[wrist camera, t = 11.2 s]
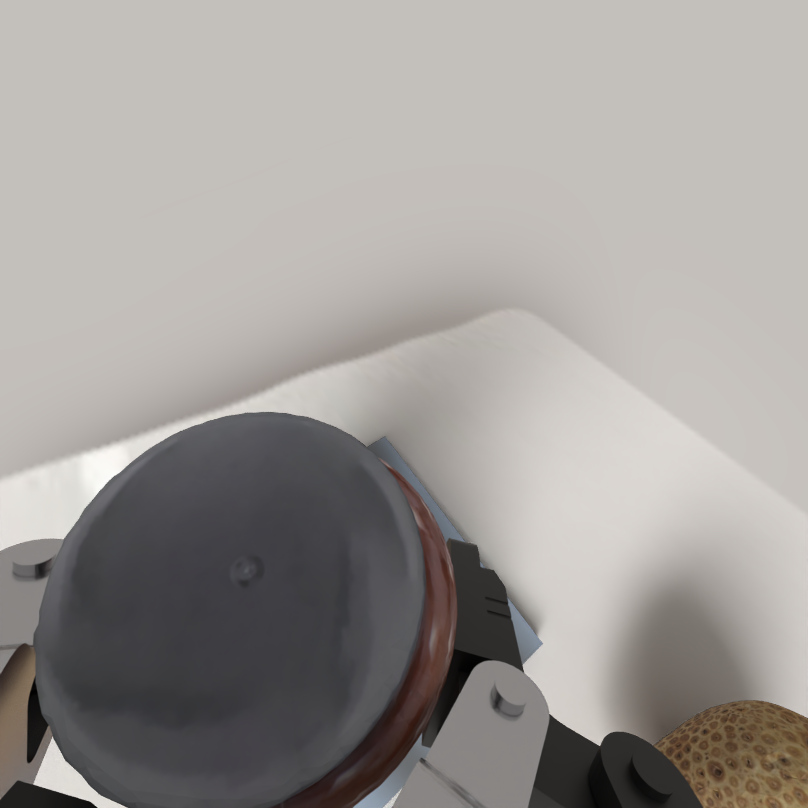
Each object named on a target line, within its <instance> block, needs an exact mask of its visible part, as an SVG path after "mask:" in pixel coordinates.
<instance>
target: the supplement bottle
mask: <svg viewBox="0 0 808 808" xmlns="http://www.w3.org/2000/svg"><path fill="white" fill-rule="evenodd" d="M456 625H457V595H456V583H455V578H454V570H453V565H452V561H451V557H450V553H449V550H448V548H447V545H446V542H445V539H444V537H443V534H442V532H441V530H440V528H439V526H438V524H437V522H436V519H435V517H434V516H433V514H432V513H431V511H430V509H429V507H428V506H427V505H426V503H425V502H424V500H423V498H422V497H421V496H420V494H419V493H418V492H417V491H416V490H415V489H414V488H413V486H412V485H411V484H410V483H409V482H408V481H407V480H406V479H405V478H404V477H403V476H402V475H401V474H400V473H399V472H398V471H396V470H395V469H394V468H393V467H391V466H390V465H389V464H388V463H387V462H385V461H383V460H382V459H380V458H378V457H377V456H376V455H375V453H373V452H372V451H370V450H369V449H368V448H367V447H366V446H365V445H364V444H362V443H361V442H360V441H358V440H357V439H356V438H354V437H353V436H352V435H350V434H348V433H346V432H344V431H342V430H340V429H338V428H337V427H334V426H331V425H329V424H326V423H323V422H320V421H318V420H315V419H312V418H309V417H304V416H296V415H292V414H287V413H275V412H259V413H244V414H239V415H231V416H225V417H222V418H218V419H214V420H210V421H207V422H205V423H203V424H200V425H195V426H193V427H190V428H188V429H185V430H183V431H180V432H178V433H176V434H174V435H172V436H170V437H168V438H167V439H165V440H163V441H162V442H160V443H158V444H156V445H155V446H153V447H152V448H150V449H149V450H147V451H146V452H144V453H143V454H142V455H140V456H139V457H138V458H136V459H135V460H134V461H133V462H131V463H130V464H129V465H128V466H127V467H126V468H125V469H124V470H122V471H121V472H120V473H119V474H117V475H116V476H114V477H113V478H112V479H111V480H110V481H109V482H108V483H107V484H106V485H105V486H104V487H103V488H102V489H101V490H100V491H99V493H98V494H97V495H96V496H95V498H94V499H93V500H92V501H91V503H90V504H89V505H88V506H87V507H86V508H85V509H84V511H83V513H82V514H81V516H80V518H79V520H78V521H77V522H76V524H75V525H74V526H73V528H72V529H71V530H70V532H69V533H68V534H67V536H66V537H65V538H64V541H63V543H62V546H61V548H60V550H59V552H58V554H57V556H56V559H55V562H54V565H53V567H52V569H51V572H50V574H49V578H48V581H47V585H46V588H45V592H44V595H43V599H42V603H41V606H40V610H39V622H38V626H37V628H36V630H35V632H34V635H33V646H34V650H35V654H36V657H35V675H36V687H37V692H38V697H39V702H40V708H41V713H42V716H43V717H44V719H45V720H46V722H47V723H48V725H49V726H50V729H51V732H52V735H53V738H54V740H55V742H56V744H57V746H58V747H59V749H60V751H61V753H62V755H63V757H64V759H65V761H67V762H68V763H69V764H70V765H71V766H72V767H73V768H74V769H75V770H76V771H78V772H79V773H80V774H81V775H82V776H83V778H84V779H85V780H86V781H87V783H88V784H89V785H90V786H91V787H92V788H93V789H94V790H95V791H96V792H98V793H99V794H100V795H101V796H103V797H106V798H108V799H110V800H112V801H114V802H117V803H119V804H121V805H123V806H125V807H128V808H353V807H354V806H355V805H357V804H358V803H359V802H360V801H361V800H363V799H364V798H365V797H366V796H368V795H369V794H370V793H372V792H373V791H374V790H375V789H377V788H378V787H379V786H380V785H382V783H383V782H384V781H385V780H386V779H387V778H388V777H389V776H390V774H391V773H392V772H393V771H394V770H395V769H396V768H397V767H398V766H399V764H400V763H401V762H402V761H403V759H404V758H405V757H406V756H407V754H408V753H409V751H410V750H411V748H412V747H413V746H414V744H415V743H416V741H417V740H418V738H419V737H420V735H421V733H422V732H423V730H424V728H425V727H426V725H427V723H428V722H429V720H430V718H431V716H432V714H433V712H434V709H435V707H436V705H437V702H438V700H439V697H440V694H441V692H442V689H443V687H444V684H445V682H446V678H447V674H448V670H449V667H450V663H451V660H452V656H453V650H454V643H455V635H456Z"/></svg>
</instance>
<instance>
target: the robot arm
mask: <svg viewBox="0 0 808 808" xmlns="http://www.w3.org/2000/svg"><path fill="white" fill-rule="evenodd" d="M63 541H64V540H63V539H40V540H33V541H28V542H24V543H20V544H17V545H14V546H11V547H8V548H6V549H4V550H2V551H0V808H97V807H96V806H95V805H94V804H92V803H91V802H89V801H86V800H82V799H79V798H76V797H72V796H69V795H66V794H62V793H59V792H56V791H52V790H49V789H46V788H42V787H39V786H36V785H33V783H34V780H35V778H36V775H37V773H38V770H39V768H40V765H41V763H42V760H43V758H44V756H45V753H46V751H47V748H48V746H49V743H50V741H51V739H52V736H53V735H52V732H51V729H50V726H49V725H48V723H47V722H46V720H45V719H44V717H43V716H42V713H41V708H40V702H39V697H38V692H37V687H36V675H35V657H36V654H35V650H34V646H33V635H34V632H35V630H36V628H37V626H38V622H39V610H40V606H41V603H42V599H43V595H44V592H45V588H46V585H47V581H48V578H49V574H50V572H51V569H52V567H53V565H54V562H55V559H56V556H57V554H58V552H59V550H60V548H61V546H62V543H63ZM446 545H447V548H448V550H449V553H450V557H451V561H452V565H453V570H454V578H455V583H456V595H457V625H456V635H455V643H454V650H453V656H452V660H451V663H450V667H449V670H448V674H447V678H446V682H445V684H444V687H443V689H442V692H441V694H440V697H439V700H438V702H437V705H436V707H435V709H434V712H433V714H432V716H431V718H430V720H429V722H428V723H427V725H426V727H425V728H424V730H423V732H422V746H425V747H428V748H431V749H430V750H429V752H428V754H427V756H426V757H425V759H423V758H420V760H419V761H418V762H417V764H416V765H415V767H414V769H413V770H412V772H411V774H410V776H409V778H408V779H407V781H406V783H405V785H404V787H403V788H402V790H401V792H400V794H399V796H398V797H397V799H396V801H395V803H394V805H393V807H392V808H704V807H703V806H702V804H701V803H700V801H699V799H698V798H697V796H696V795H695V793H694V791H693V790H692V788H691V786H690V785H689V783H688V782H687V780H686V779H685V778H684V776H683V775H682V774H681V772H680V771H679V770H678V769H677V767H676V766H675V765H674V764H673V763H672V762H671V761H670V760H669V759H668V758H667V757H666V756H665V755H664V754H663V753H662V752H660V751H659V750H658V749H657V748H655V747H654V746H653V745H651V744H650V743H648V742H647V741H645V740H643V739H641V738H639V737H637V736H635V735H632V734H630V733H625V732H613V733H610V734H608V735H607V736H606V737H605V738H604V739H603V741H602V743H601V745H600V746H598V745H597V744H595V743H593V742H592V741H590V740H588V739H586V738H585V737H583V736H581V735H580V734H578V733H576V732H575V731H573V730H571V729H570V728H568V727H566V726H565V725H563V724H562V723H560V722H559V721H557V720H556V719H555V718H554V717H552V716H551V715H550V714H549V710H548V706H547V703H546V700H545V698H544V696H543V694H542V693H541V691H540V690H539V688H538V687H537V685H536V684H535V683H534V682H533V681H532V680H531V679H530V678H529V677H528V676H527V675H526V674H524V670H523V666H522V661H521V657H520V652H519V648H518V643H517V639H516V634H515V630H514V625H513V621H512V620H511V617H512V616H511V612H510V607H509V606H508V598H507V594H506V589H505V586H504V585H503V583H502V582H501V580H500V579H499V577H498V576H497V575H496V573H495V572H494V571H493V570H490V569H486V568H482V567H481V566H480V559H479V552H478V547H477V545H474V544H470V543H467V542H463V541H459V540H456V539H452V538H449V539H448V541H447V543H446Z"/></svg>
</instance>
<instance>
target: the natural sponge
mask: <svg viewBox="0 0 808 808" xmlns="http://www.w3.org/2000/svg"><path fill="white" fill-rule="evenodd" d="M654 747H655V748H657V749H658V750H659V751H660V752H662V753H663V754H664V755H665V756H666V757H667V758H668V759H669V760H670V761H671V762H672V763H673V764H674V765H675V766H676V767H677V769H678V770H679V771H680V772H681V774H682V775H683V776H684V778H685V779H686V780H687V782H688V783H689V785H690V786H691V788H692V790H693V791H694V793H695V795H696V796H697V798H698V799H699V801H700V803H701V804H702V806H703V807H704V808H808V718H806V717H804V716H802V715H800V714H798V713H796V712H793V711H791V710H788V709H786V708H784V707H781V706H779V705H775V704H772V703H769V702H764V701H756V700H753V701H738V702H731V703H728V704H724V705H720V706H716V707H713V708H710V709H708V710H706V711H704V712H702V713H699V714H697V715H696V716H694V717H693V718H691V719H689V720H688V721H686V722H685V723H683V724H682V725H681V726H680V727H678V728H677V729H676V730H675V731H673V732H672V733H671V734H669V735H668V736H666V737H664V738H663V739H662V740H661V741H659V742H658V743H657V744H655V745H654Z"/></svg>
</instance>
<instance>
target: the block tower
mask: <svg viewBox="0 0 808 808" xmlns="http://www.w3.org/2000/svg"><path fill="white" fill-rule="evenodd" d="M367 448H368V449H369V450H370V451H372V452H373V453H375V455H376V456H377V457H378V458H380V459H382V460H383V461H385V462H387V463H388V464H389V465H390V466H391V467H393V468H394V469H395V470H396V471H398V472H399V473H400V474H401V475H402V476H403V477H404V478H405V479H406V480H407V481H408V482H409V483H410V484H411V485H412V486H413V488H414V489H415V490H416V491H417V492H418V493H419V494H420V496H421V497H422V498H423V500H424V502H425V503H426V505H427V506H428V507H429V509H430V511H431V513H432V514H433V516H434V517H435V519H436V522H437V524H438V526H439V528H440V530H441V532H442V534H443V537H444V539H445V542H446V543H447V541H448V539H449V538H452V539H456V540H459V541H463V542H465V541H464V539H463V538H462V537H461V535H460V534H459V533H458V532H457V530H456V529H455V528H454V526H453V525H452V524H451V522H450V521H449V520H448V518H447V517H446V516H445V514H444V513H443V512H442V511H441V509H440V508H439V507H438V505H437V504H436V503H435V501H434V500H433V499H432V497H431V496H430V495H429V493H428V492H427V491H426V490H425V488H424V487H423V486H422V484H421V483H420V482H419V480H418V479H417V478H416V476H415V475H414V474H413V472H412V471H411V470H410V469H409V467H408V466H407V465H406V463H405V462H404V461H403V459H402V458H401V457H400V455H399V454H398V453H397V451H396V450H395V449H394V448H393V446H392V445H391V444H390V442H389V441H388V440H387V438H386V437H383V438H381V439H380V440H378V441H376V442H375V443H373V444H372V445H370V446H368V447H367ZM480 566H481V567H482V568H485V567H484V566H483V564H482V563H481V562H480ZM507 598H508V597H507ZM508 606H509V607H510V612H511V616H512V617H511V620H512V621H513V625H514V630H515V634H516V639H517V643H518V648H519V652H520V657H521V661H522V665H523V664H524V663H525V662H526V661H527V659H528V658H529V657H530V656H531V655H532V654H533V653H534V652H535V651H536V650H537V649H538V648H539V647H540V646H541V645H542V644H543V643H542V642H541V641H540V639H539V638H538V637H537V635H536V634H535V633H534V631H533V630H532V629H531V627H530V626H529V625H528V623H527V622H526V621H525V620H524V618H523V617H522V616H521V614H520V613H519V612H518V610H517V609H516V608H515V606H514V605H513V604H512V602H511V601H510V600H509V599H508ZM430 749H431V748H428V747H425V746H422V733H421V735H420V737H419V738H418V740H417V741H416V743H415V744H414V746H413V747H412V748H411V750H410V751H409V753H408V754H407V756H406V757H405V758H404V759H403V761H402V762H401V763H400V764H399V766H398V767H397V768H396V769H395V770H394V771H393V772H392V773H391V774H390V776H389V777H388V778H387V779H386V780H385V781H384V782H383V783H382V785H380V786H379V787H378V788H377V789H375V790H374V791H373V792H372V793H370V794H369V795H368V796H366V797H365V798H364V799H363V800H361V801H360V802H359V803H358V804H357V805H355V806H354V807H353V808H383V807H384V806H385V805H386V804H387V803H388V802H389V801H390V800H391V799H392V798H393V797H394V796H395V795H396V793H397V792H398V791H399V790H400V789H401V788H402V787H403V786H404V785H405V783H406V781H407V779H408V778H409V776H410V774H411V772H412V770H413V769H414V767H415V765H416V764H417V762H418V761H419V760H420V758H423V759H425V757H426V756H427V754H428V752H429V750H430Z"/></svg>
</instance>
